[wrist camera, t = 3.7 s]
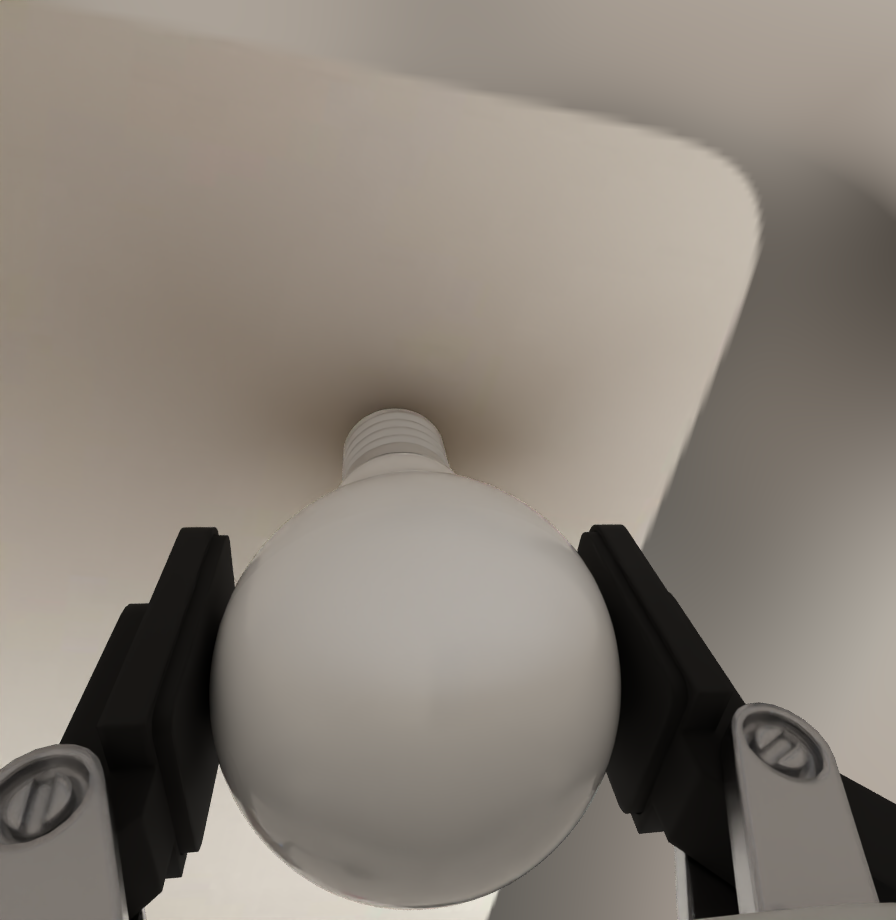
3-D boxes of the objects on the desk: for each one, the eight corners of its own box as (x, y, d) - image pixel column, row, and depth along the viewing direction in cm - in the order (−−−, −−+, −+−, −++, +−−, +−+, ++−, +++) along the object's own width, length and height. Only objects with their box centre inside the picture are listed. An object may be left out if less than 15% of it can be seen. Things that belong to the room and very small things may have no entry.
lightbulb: (367, 569, 19) (380, 1039, 9) (221, 419, 15) (11, 892, 6) (544, 462, 17) (768, 869, 8) (425, 279, 14) (559, 586, 5)
